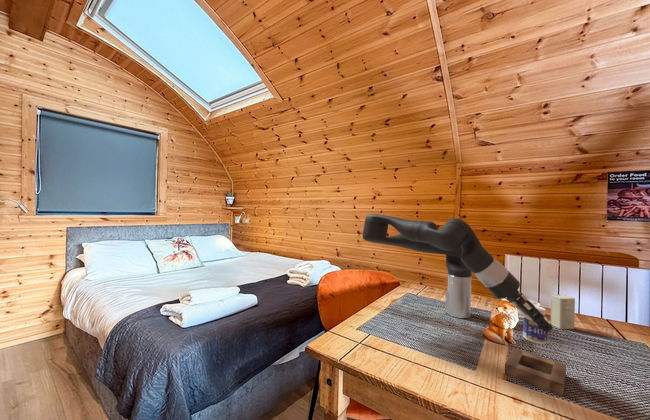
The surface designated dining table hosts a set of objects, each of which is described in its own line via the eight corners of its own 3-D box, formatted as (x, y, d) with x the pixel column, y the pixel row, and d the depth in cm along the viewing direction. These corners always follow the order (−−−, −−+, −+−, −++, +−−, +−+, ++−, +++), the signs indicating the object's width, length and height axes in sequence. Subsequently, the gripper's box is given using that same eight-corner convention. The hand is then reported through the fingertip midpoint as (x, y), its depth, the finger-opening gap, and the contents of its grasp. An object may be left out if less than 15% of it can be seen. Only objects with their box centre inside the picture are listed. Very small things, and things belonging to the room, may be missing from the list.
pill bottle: (526, 341, 72) (527, 309, 72) (520, 333, 77) (521, 302, 77) (550, 346, 70) (552, 312, 70) (542, 337, 75) (543, 305, 75)
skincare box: (564, 324, 109) (565, 294, 109) (575, 329, 104) (575, 298, 104) (549, 324, 108) (550, 294, 108) (559, 329, 104) (560, 298, 104)
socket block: (504, 374, 74) (504, 363, 74) (513, 358, 82) (513, 348, 82) (562, 396, 65) (563, 384, 65) (565, 375, 74) (566, 364, 74)
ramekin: (542, 320, 113) (542, 308, 113) (510, 314, 119) (510, 302, 119) (538, 312, 122) (538, 300, 122) (509, 307, 128) (509, 296, 128)
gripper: (477, 279, 84) (520, 323, 81) (493, 293, 70) (545, 346, 67) (497, 264, 82) (541, 308, 79) (517, 274, 69) (572, 328, 66)
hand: (543, 325), depth 73 cm, fingers closed on pill bottle, 5 cm apart
